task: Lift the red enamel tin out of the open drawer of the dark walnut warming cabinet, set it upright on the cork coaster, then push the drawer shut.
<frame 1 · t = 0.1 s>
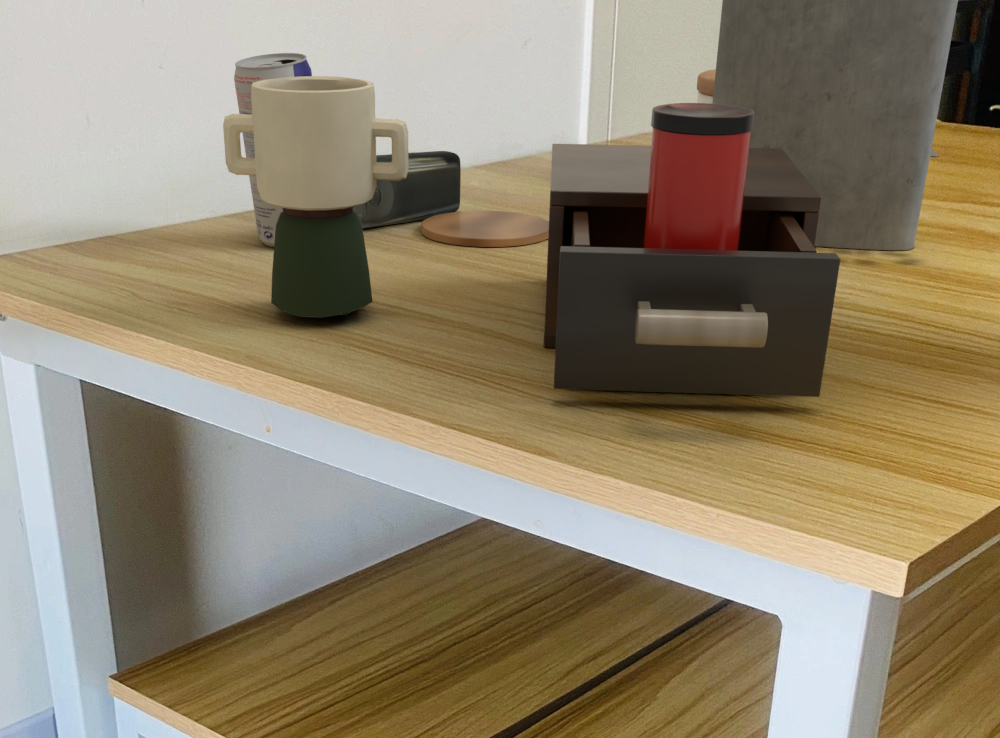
drawer: (684, 299, 72), point 4 cm above the table, slide at 9.0 cm, touching tin
cabinet: (662, 314, 85), on the table
character mug: (322, 317, 85), on the table
energy drink: (295, 240, 101), on the table, touching dark elongated boxy piece
dark elongated boxy piece: (386, 226, 107), on the table, touching energy drink
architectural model: (872, 144, 143), on the table
tin: (681, 344, 73), point 2 cm above the table, touching drawer
lidded bowl: (759, 193, 120), on the table
coaster: (486, 232, 104), on the table
grey upright slab: (803, 242, 103), on the table
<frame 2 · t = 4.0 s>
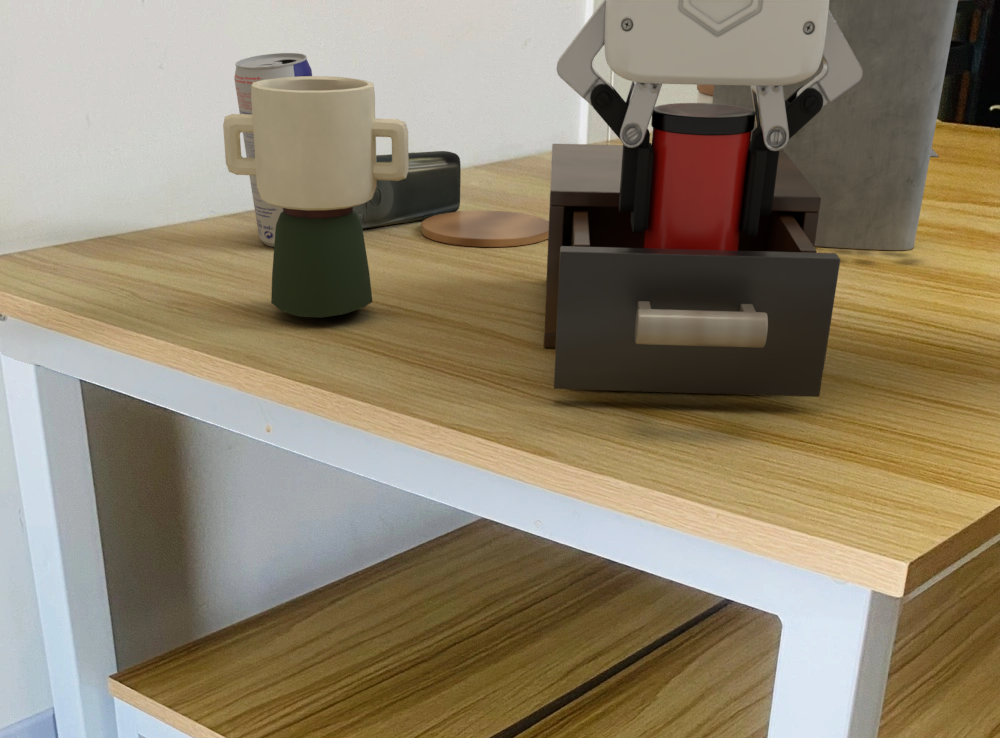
hand: (692, 224, 70), 8 cm above the table, tool pointing down, fingers closed on tin, 4 cm apart
tin: (681, 344, 73), point 2 cm above the table, touching drawer, gripper
everything else where it was.
when the fingers open (7 cm above the table, at t = 13.0 s): tin stays where it is, resting on coaster.
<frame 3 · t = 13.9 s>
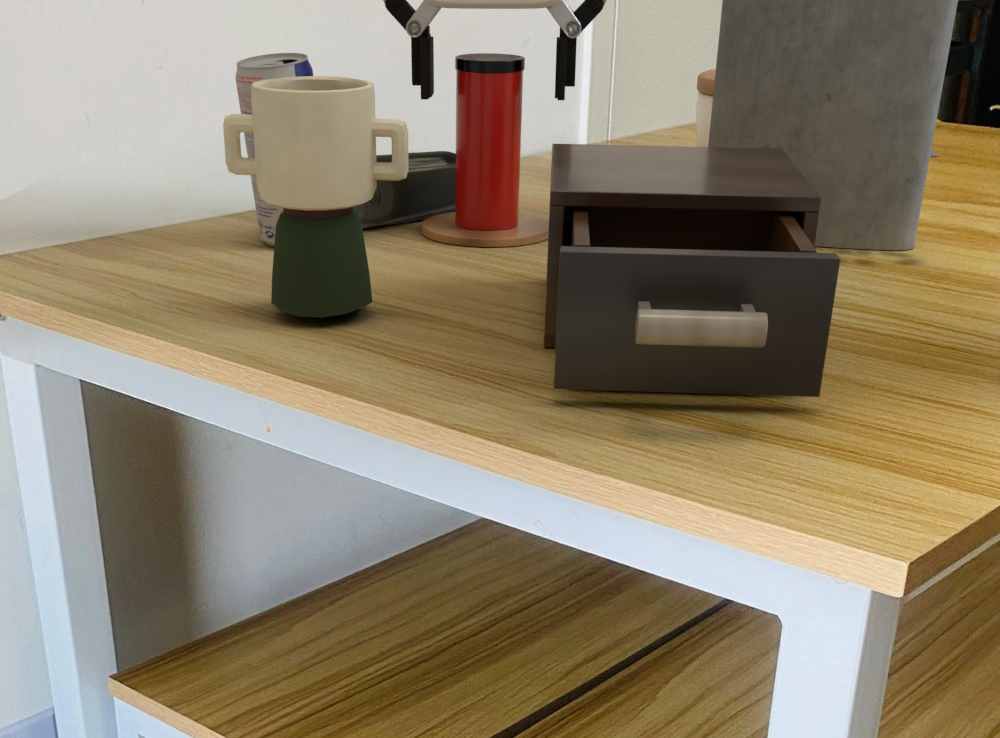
hand: (493, 97, 99), 9 cm above the table, tool pointing down, fingers open, 9 cm apart
drawer: (684, 299, 72), point 4 cm above the table, slide at 9.0 cm
tin: (486, 224, 104), point 1 cm above the table, touching coaster
everything else where it was.
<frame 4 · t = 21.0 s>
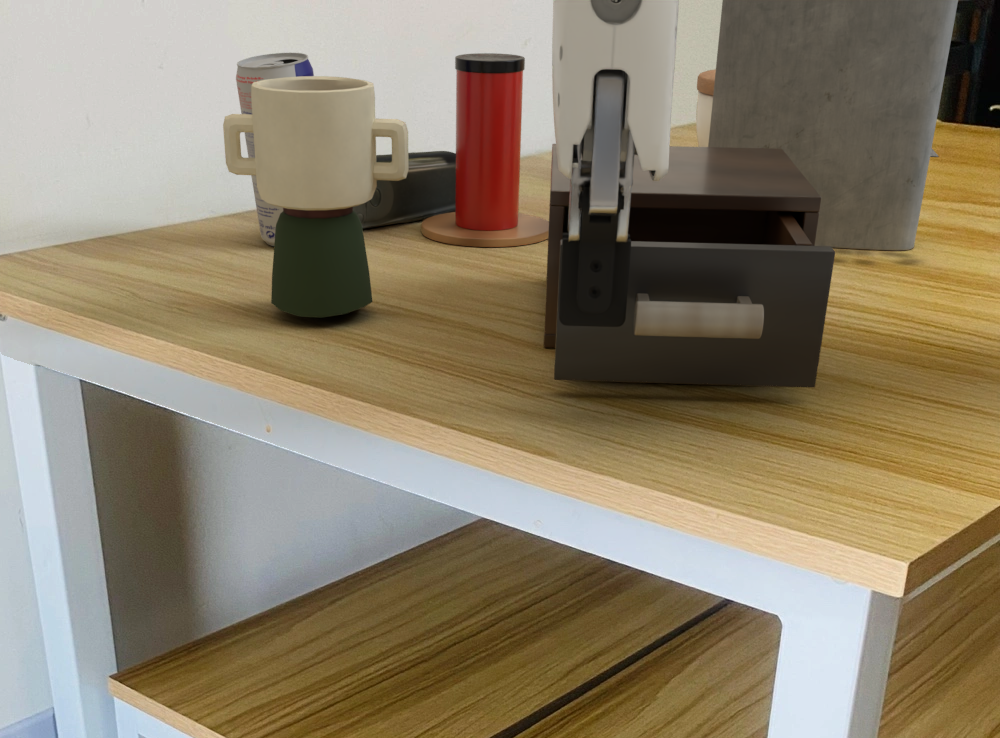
hand: (591, 320, 67), 5 cm above the table, tool pointing down, fingers closed
drawer: (682, 291, 73), point 4 cm above the table, slide at 7.5 cm, touching gripper
everything else where it was.
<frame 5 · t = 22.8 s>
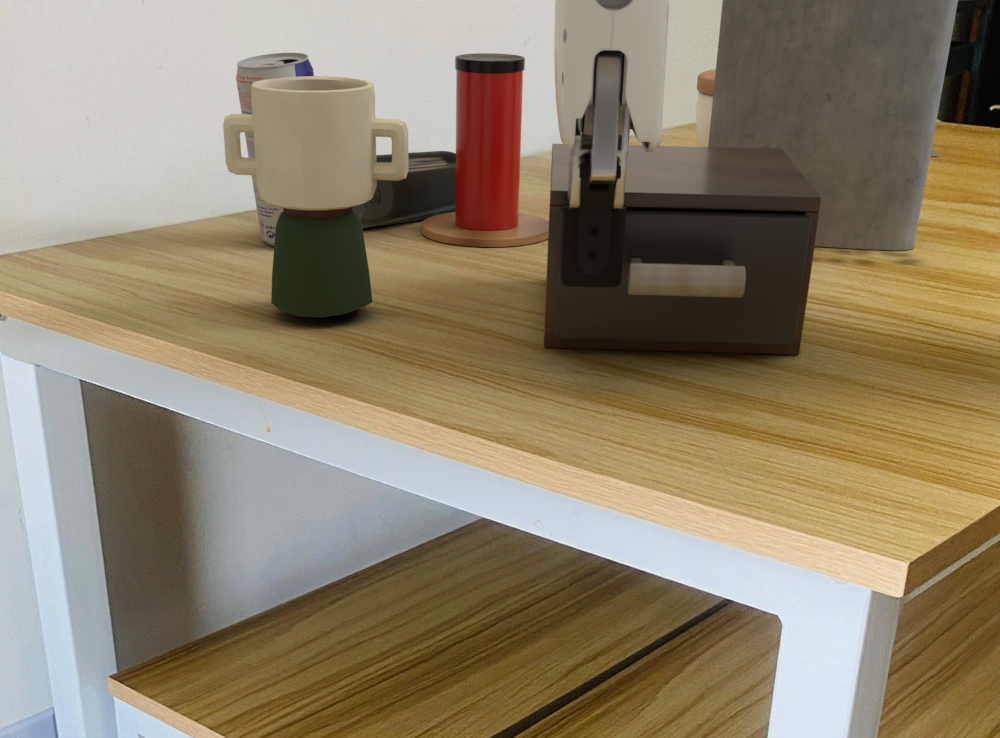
hand: (589, 282, 73), 5 cm above the table, tool pointing down, fingers closed
drawer: (673, 258, 80), point 4 cm above the table, slide at 0.0 cm, touching cabinet, gripper
everything else where it was.
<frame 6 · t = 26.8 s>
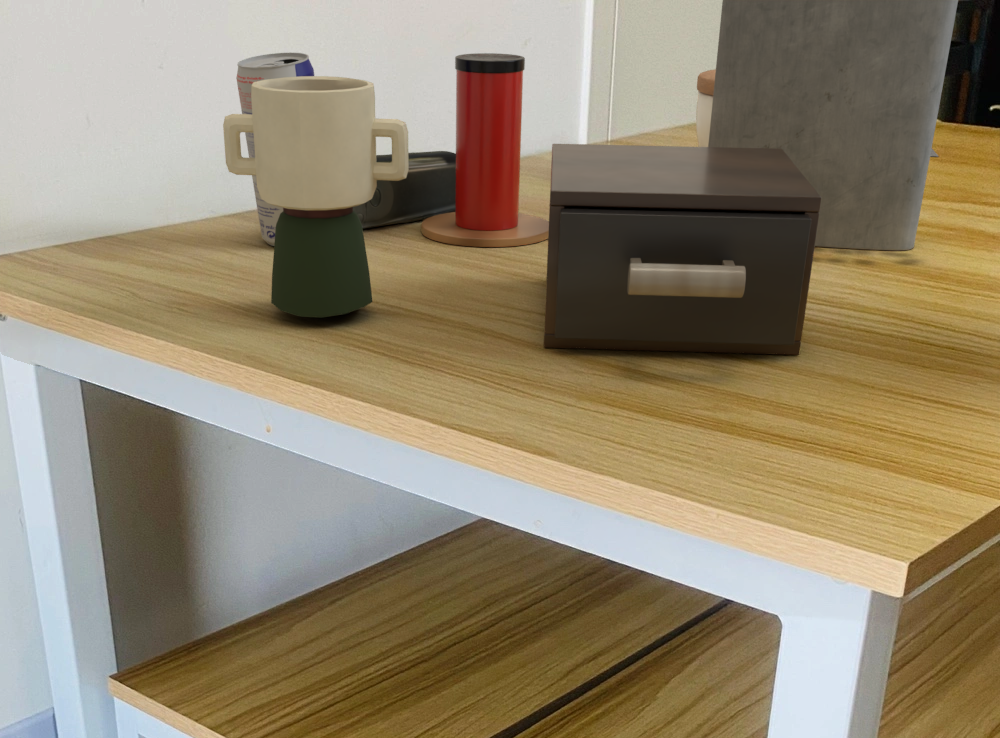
drawer: (673, 258, 80), point 4 cm above the table, slide at 0.0 cm, touching cabinet
everything else where it was.
at the end: tin 0.0 cm off-centre on the coaster, point 0.6 cm above the coaster's base; tin tilted 0°; drawer slide at 0.0 cm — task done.
